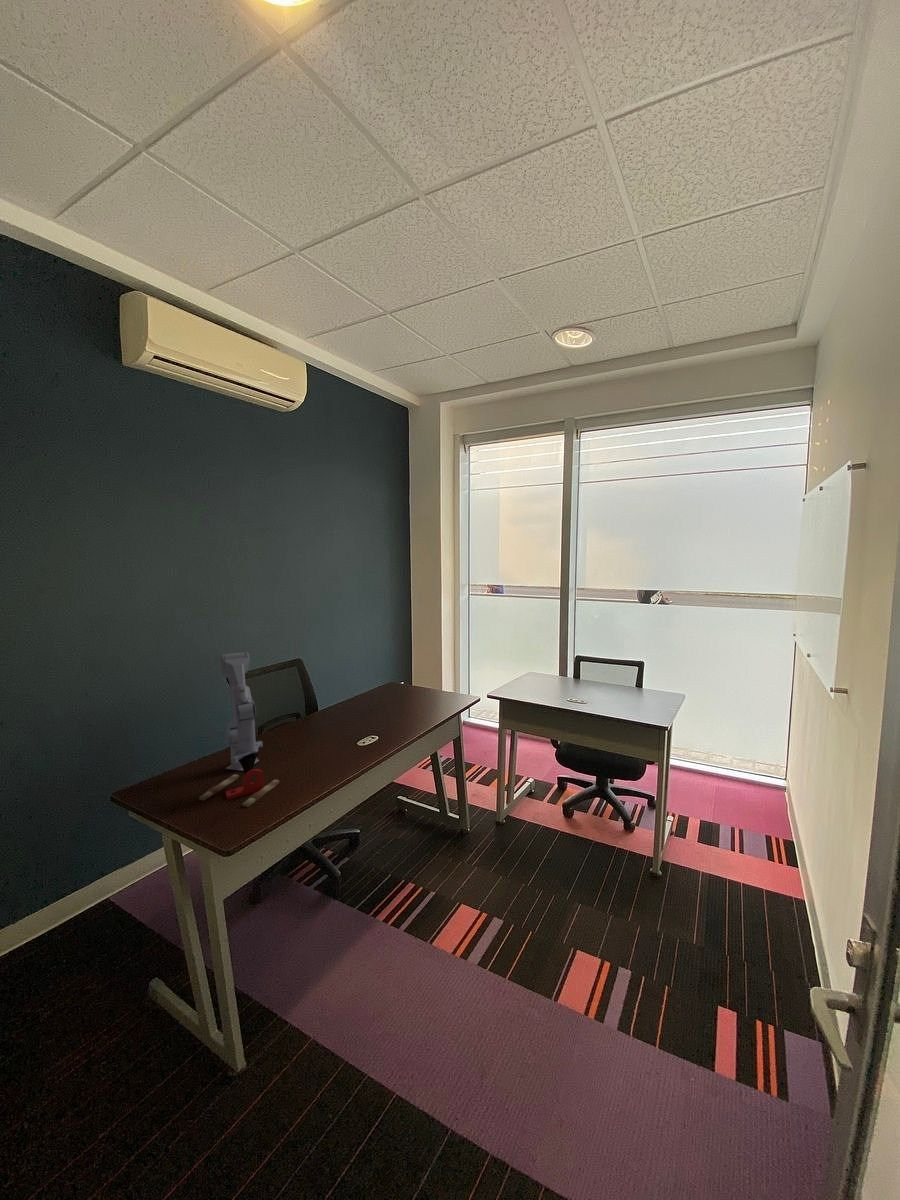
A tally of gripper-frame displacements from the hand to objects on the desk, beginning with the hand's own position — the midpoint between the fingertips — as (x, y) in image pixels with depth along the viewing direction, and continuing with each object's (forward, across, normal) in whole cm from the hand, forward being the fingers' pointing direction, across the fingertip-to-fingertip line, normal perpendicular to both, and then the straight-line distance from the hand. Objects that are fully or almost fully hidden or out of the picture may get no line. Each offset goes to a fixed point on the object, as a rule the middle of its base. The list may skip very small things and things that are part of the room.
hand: (248, 773), depth 172 cm
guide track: (+4, -5, 0) cm, 6 cm away
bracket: (+4, -4, -2) cm, 7 cm away
